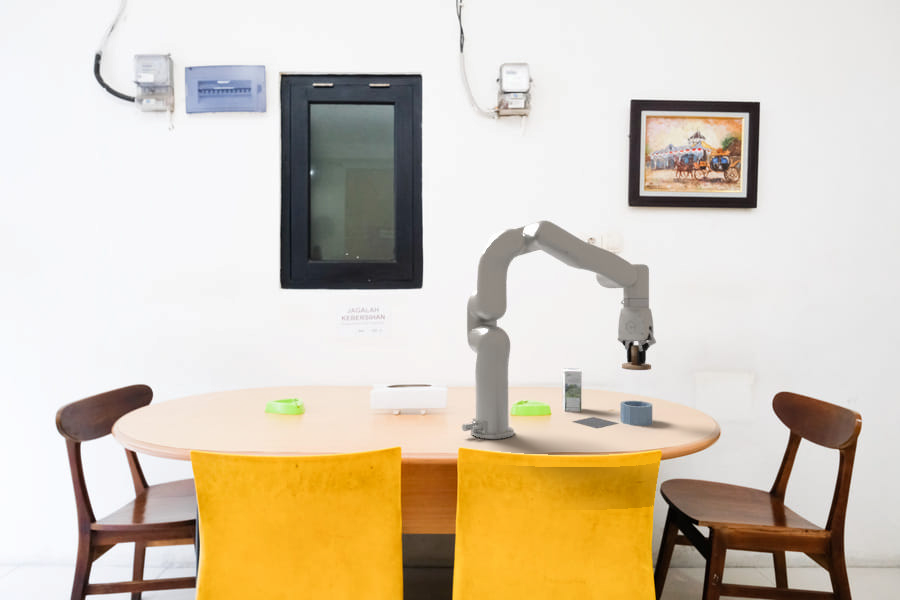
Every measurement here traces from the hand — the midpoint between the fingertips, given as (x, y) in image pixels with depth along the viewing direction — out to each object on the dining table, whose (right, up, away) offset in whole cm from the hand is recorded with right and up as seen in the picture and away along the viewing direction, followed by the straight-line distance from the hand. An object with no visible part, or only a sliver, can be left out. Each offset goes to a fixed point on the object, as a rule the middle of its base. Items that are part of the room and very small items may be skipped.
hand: (636, 362), depth 165 cm
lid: (0, -2, 0) cm, 2 cm away
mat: (-13, -19, 0) cm, 23 cm away
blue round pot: (0, -19, 0) cm, 19 cm away
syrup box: (-16, -19, +17) cm, 30 cm away
